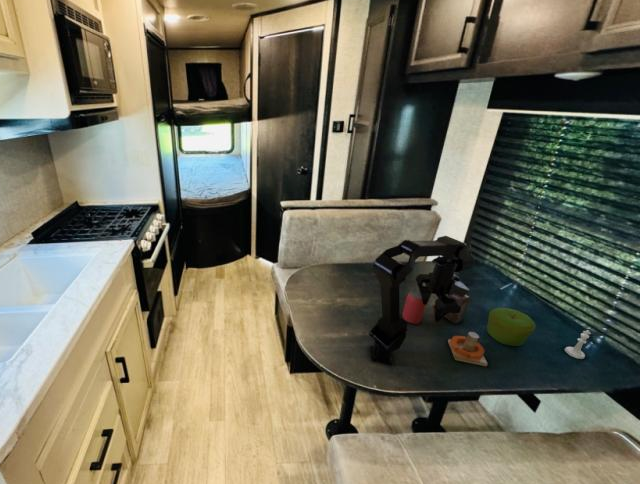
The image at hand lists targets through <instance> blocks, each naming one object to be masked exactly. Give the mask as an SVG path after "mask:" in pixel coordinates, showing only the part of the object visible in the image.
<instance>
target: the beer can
mask: <svg viewBox="0 0 640 484" xmlns="http://www.w3.org/2000/svg"><path fill="white" fill-rule="evenodd" d="M425 308H426V305H424V304H423V302H422V298H421V294H420V291H419V289H411V290H410V291H409V292H408V294H407V296H406V299H405V303H404V307H403V311H402V314H401V316H402V319H404V320H405V321H406V322H407V323H410V324H419V323H421V321H422V318H423V315H424V312H425Z"/></svg>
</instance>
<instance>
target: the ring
mask: <svg viewBox="0 0 640 484" xmlns="http://www.w3.org/2000/svg"><path fill="white" fill-rule="evenodd" d="M466 338H467V336H465V335H453V336H452V338H450V339H451V341H450V345H449V347H450V346H451V347H452V349H453V350H454V351H456V353H458V354H459V355H461V356H463V357H465V358H467V357H468V358H469V359H481V357H482V356H484V354H485V348H484V347H483V345H482V344H480V342H477V344H476V346H475V350H476V351H477V352H468V351H466V350H464V349H462V348H460V347H459V345H458V344H457V342H463V343H465V340H466Z"/></svg>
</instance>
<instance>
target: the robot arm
mask: <svg viewBox="0 0 640 484" xmlns="http://www.w3.org/2000/svg"><path fill="white" fill-rule="evenodd" d="M472 252H473V251H472V250H470V249H468V248H467V244H466V243H465V242H463V241H460V240H458V239H455V238H453V237H451V236H449V235H442V236H439V237H437V238H436V239H435V240H410V239H404V240H402V241H401V242H400V243H399V244H398V245H395V246H393V247H392V246H391V247H390V248H388V249H385V250H383V251H382V253H381V254H380V255H378V256H377V257H376V258H375V260H374V261H373V264H372V269H373V273H374V276H375V277H376V279H377V280H378V282H379V284H380V297H381V317H379V318H378V319H377V321H376V323H375V324H374V325H373V327H372V328H371V329H370V330H369V331H368V335H369V337H371V338H372V339H373V340H374V341H373V345H370V347H369V349H370V350H369V351H370V361H372V362H376V363H381V364H385V365H390V366H392V365H393V359H392V353H393V352H395V351H396V350H400V348H401V347H402V345H403V343H404V341H405V339H406V335H407V332H408V322H407V321H406V320H405V319H404V318H403V317H401V315H400V285H401V284H402V283H403V282H405V280H406V277H407V276H409V274H411V272H412V271H413V270H414V268H415V264H416V261H417V259H418V258H420V257H421V258H422V257H436V258H433V259H432V260H431V263H433V265H434V266H433V268H432V272H428V274H427V273H419V274H418V275H416V277H415V278H416V279H415V281H416V285H417V287H418V290H419V291H420V294H421V298H422V302H423V304H424V305H425V306H426V305H427V304H428V303H429V301H430V298H431V296H432V294H433V295H435V296H436V297H437V299H435V301H434V305H433V315H434V321H435V323H439V322H440V321H441V320H442V319H444V318H445V317H444V316H445V315H447V314H448V313H460V311H461V308H462V307H461V306H460V305H459V304H458V303H457V302H456V301H455V299H453V298H448V297H447V295H453V294H456V295H459V296H460V297H464V296H465V295H466V294H468V293H469V291H470V289H469V287H467V286H466V285H465V284H464V283H463V282H462V281H461V280H460V277H458V276H457V275H456V274H455V273H461V272H463V271H466V270H470V269H472V268H473V267H474V266H475V265H476V260H475V257H474V256H473V255H472ZM403 254H405V255H407V256H409V258H408V261H407V262H406V263H405V264H404V263H402V262H400V261H398V260H397V259H394V258H395V257H398V256H401V255H403Z"/></svg>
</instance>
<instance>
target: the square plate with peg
mask: <svg viewBox="0 0 640 484" xmlns="http://www.w3.org/2000/svg"><path fill="white" fill-rule="evenodd" d="M466 337H467V338H466V340H465V343H463V342H457V344H458V345H459V347H460V348H462V349H464V350H466V351H468V352H477V351H476V350H475V346H476V344H477V343H478V341H479V339H480V335H479V334H478V333H477V332H475V331H468V333H467V335H466ZM451 339H452V338H449V339H448V340H447V342H448V345H449V348H450V350H451V353H452V356H453V358H454V361H458V362H464V363H467V364H473V365H476V366H477V365H478V366H483V367H487V366H488V362H487V360H486V358H485V356H484V355H483V356H482V357H481V359H469V358H468V357H467V358H465V357H463V356H461V355H459V354H458V353H456V351H454V350H453V349H452V347H451V346H450V341H451Z"/></svg>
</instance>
